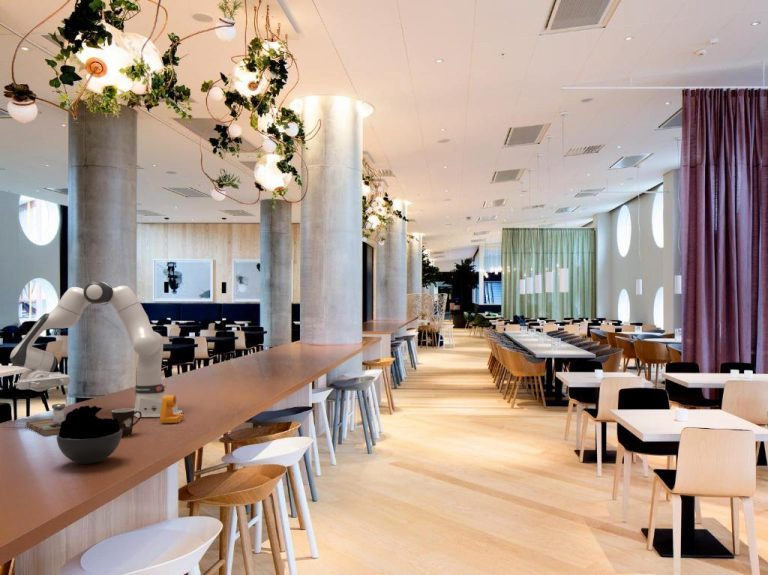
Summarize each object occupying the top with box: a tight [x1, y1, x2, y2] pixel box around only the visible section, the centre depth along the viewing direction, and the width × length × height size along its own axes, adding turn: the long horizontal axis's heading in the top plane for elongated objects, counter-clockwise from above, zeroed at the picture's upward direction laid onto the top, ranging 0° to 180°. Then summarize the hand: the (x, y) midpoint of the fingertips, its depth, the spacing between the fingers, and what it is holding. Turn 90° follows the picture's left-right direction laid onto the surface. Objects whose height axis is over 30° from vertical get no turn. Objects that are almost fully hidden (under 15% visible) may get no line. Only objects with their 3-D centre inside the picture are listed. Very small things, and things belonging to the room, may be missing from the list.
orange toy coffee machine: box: [159, 394, 185, 424], centre depth 278 cm, size 11×7×12 cm, turn 179°
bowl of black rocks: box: [56, 405, 123, 465], centre depth 210 cm, size 20×20×19 cm
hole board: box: [25, 418, 66, 437], centre depth 263 cm, size 24×14×3 cm, turn 45°
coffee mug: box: [111, 407, 142, 437], centre depth 252 cm, size 12×9×10 cm
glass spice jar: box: [51, 403, 67, 428], centre depth 259 cm, size 5×5×11 cm
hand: (50, 383), depth 268 cm, fingers open, 8 cm apart
